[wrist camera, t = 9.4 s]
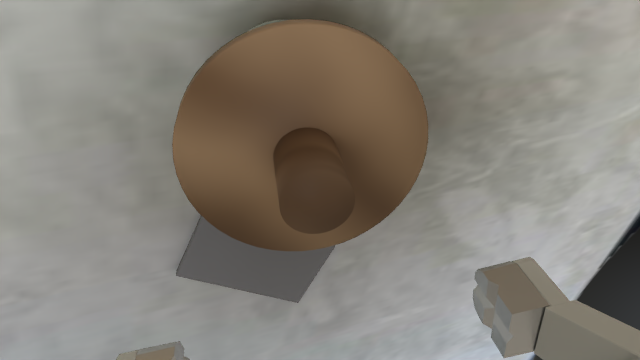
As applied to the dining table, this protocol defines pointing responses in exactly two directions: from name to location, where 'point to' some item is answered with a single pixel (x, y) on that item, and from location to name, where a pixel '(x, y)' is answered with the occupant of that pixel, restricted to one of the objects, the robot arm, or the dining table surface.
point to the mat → (249, 264)
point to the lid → (299, 135)
